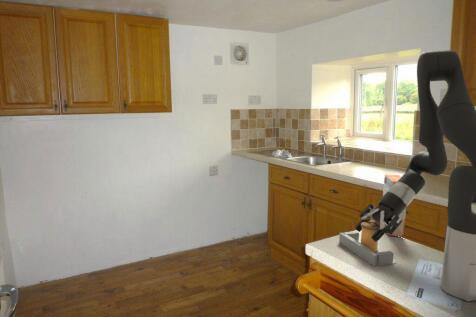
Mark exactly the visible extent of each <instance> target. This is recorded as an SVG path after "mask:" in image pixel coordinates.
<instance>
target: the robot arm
mask: <svg viewBox="0 0 476 317" xmlns="http://www.w3.org/2000/svg"><path fill="white" fill-rule="evenodd" d="M464 74H465V73H464V71H463V66H462V63H461V59H460V56H459V53H457V52H456V51H455V50H453V49H452V50H451V49H450V50H449V49H447V50H431V51H424V52H421V54H420V55H419V57H418V60H417V64H416V79H417V80H416V82H417V95H418V106H419V127H418V128H419V131H418V142H419V144H420V145H421V146H424V147H425V148H426V149H427V151H423V150H422V151H419V152H417V153H416V154H414V155H413V156H412V158H411V159H410V161H409V163H408V165H407V167H406V169H405V172H404V173H403V175H402V176H401V178H400V179H399V180H398V181H397V183H395V184H394V185H393V186H392V187H391V188H390V189H389V190H388V191H387V192H386V194H385V195H384V196H383V195H382V197H381V198H380V199H379V201H378V205H377V206H374V205H373V204H372V203H370V204H368V206H367V207H365V208H364V210H362V212H360V213H359V217H360V219H361V220H359V222H358V223H357V224H356V225H355V228H354V229H355V230H356V231H357V232H359V233H361V232H362V227H361V223H362V222H373V223H379V225H380V229H378V230H377V231H376V232H375V233H374V234H373V236H372V239H373V240H374V241H375V242H377V241H378V242H379V241H380V239H381V238H382V237H383V236H384V235H386V234H387V233H389V234H390V235H389V236H391V234H393V232H394V231H395V230H396V229H397V227H398V226H399V225H400V224H401V222H402V220H401V218H400V217H399V215H400V214H401V213H402V212H403V210H404V209H405V208H406V209H407V207H409V205H410V204H411V203H412V201H413V200H414V198H415V197H416V195H418V193H419V192H420V191H421V190H422V189H423V187H424V186H425V185H426V180H425V178H424V177H423V176H422V174H423V173H424V174H428V175H431V176H440V175H442V174H444V172H445V171H446V169H447V167H448V156H447V151H446V147H445V142H444V137H445V138H446V139H447V140H448V142H450V143H451V144H452V145H453V146H455V147H456V148H457V149H458V150H459V151H460V152H461V153H462V154H464V155H465V156H466V158H467V159H468V161H469V162H470V164H471V165H458V166H456V167H454V168H453V169H452V171H451V173H450V176H449V181H448V192H447V193H448V197H447V211H446V212H447V213H446V214H447V224H446V225H447V226H446V234H445V242H444V251H443V259H442V268H441V276H440V288H441V289H442V291H444V292H445V293H446V294H448V295H450V296H453V297H455V298H458V299H461V300H464V301H466V302H473V301H476V213H475V212H473V210H472V207H473V206H472V204H476V108H475V105H474V103H473V100H472V98H471V96H470V92H469V90H468V87H467V83H466V80H465V76H464ZM442 81H444V82H446V84H447V90H446V91H445V92H446V93H445V95H444V96H443V98H442V99H441V101H440V103H439V104H437V103H436V101H435V98H434V97H433V94H432V90H431V82H442ZM390 221H391V222H390ZM391 227H392V228H391ZM390 228H391V229H390Z"/></svg>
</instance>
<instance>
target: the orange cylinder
mask: <svg viewBox="0 0 476 317" xmlns="http://www.w3.org/2000/svg"><path fill="white" fill-rule="evenodd" d="M361 227H362V230H361V231H360V234H361V236H360V241H361V244H363V245H364V246H366V247H368V248H369V249H371V250H372V251H374V252H379V250H378V243H379V240H378V241H377V242H375V241H374V240H373V239H372V236H373V234H374V233H375V232H376V231H377V230H378V229H380V223H379V224H378V223H377V222H362V223H361Z"/></svg>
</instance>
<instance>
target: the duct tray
mask: <svg viewBox="0 0 476 317" xmlns="http://www.w3.org/2000/svg"><path fill="white" fill-rule="evenodd" d="M338 243H339V244H341V245H342V246H344V247H345V248H346V249H348V250H350V251H351V252H352V253H354V254H355V255H357V256H358V257H360V258H361V259H363V260H364V261H365V262H367V263H369V264H370V265H371V266H372V267H380V266H385V265H394V264H397V262H396V261H395V260H394V252H393V251H391V250H386V251H385V250H384V251H378V252H374V251H372V250H371V249H369V248H368V247H366V246H364V245H363V244H361V239H360V232H358V231H357V230H356V231H355V230H354V231H346V232H339V237H338Z"/></svg>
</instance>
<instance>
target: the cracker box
mask: <svg viewBox="0 0 476 317" xmlns="http://www.w3.org/2000/svg"><path fill="white" fill-rule="evenodd" d="M401 177H402V176H401V175H398V174H384V180H383V192H382V197H383V196H384V195H385V194H386V192H387V191H388V190H389V189H390V188H391V187H392V186H393V185H394V184H395V183H397V181H398V180H399V179H400V178H401ZM406 213H407V207H406V208H405V209H404V210H403V212H402V213H401V214H400V215H399V217H400V218H401V220H402V222H401V224H400V225H399V226H398V227H397V229H396V230H395V231H394V232H393V234H391V235H390V234H389V233H387V236H390V237H392V236H393V237H400V238H401V237H402V238H403V237H404V235H405V234H404V232H405V225H406V224H405V223H406ZM390 222H391V221H390ZM391 228H392V227H391ZM391 228H390V229H391Z"/></svg>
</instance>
